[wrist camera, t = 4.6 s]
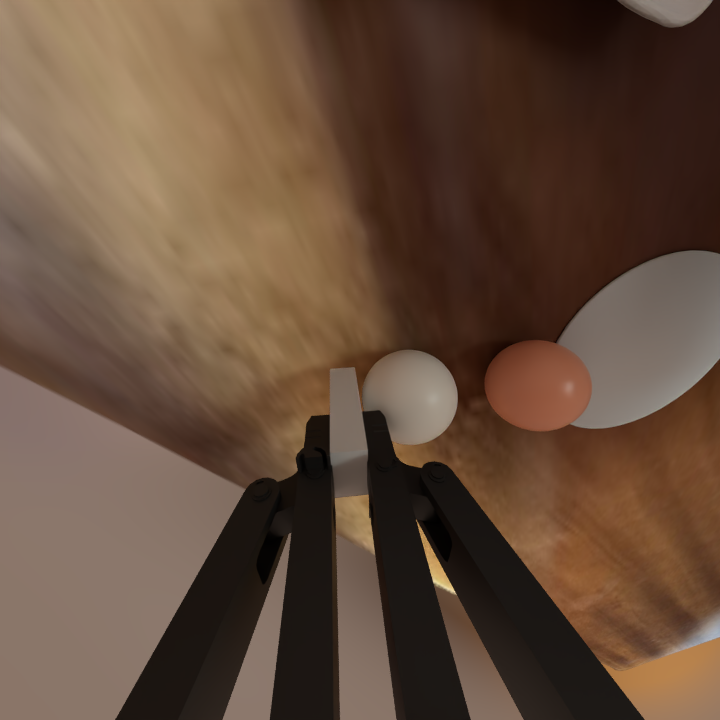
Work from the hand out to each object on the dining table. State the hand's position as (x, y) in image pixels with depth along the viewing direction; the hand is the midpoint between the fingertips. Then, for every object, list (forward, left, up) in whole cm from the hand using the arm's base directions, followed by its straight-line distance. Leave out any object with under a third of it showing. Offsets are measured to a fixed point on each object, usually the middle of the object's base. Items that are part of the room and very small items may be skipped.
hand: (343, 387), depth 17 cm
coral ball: (-12, 0, +1) cm, 12 cm away
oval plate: (-22, 0, -2) cm, 22 cm away
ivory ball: (-4, 0, +1) cm, 4 cm away
